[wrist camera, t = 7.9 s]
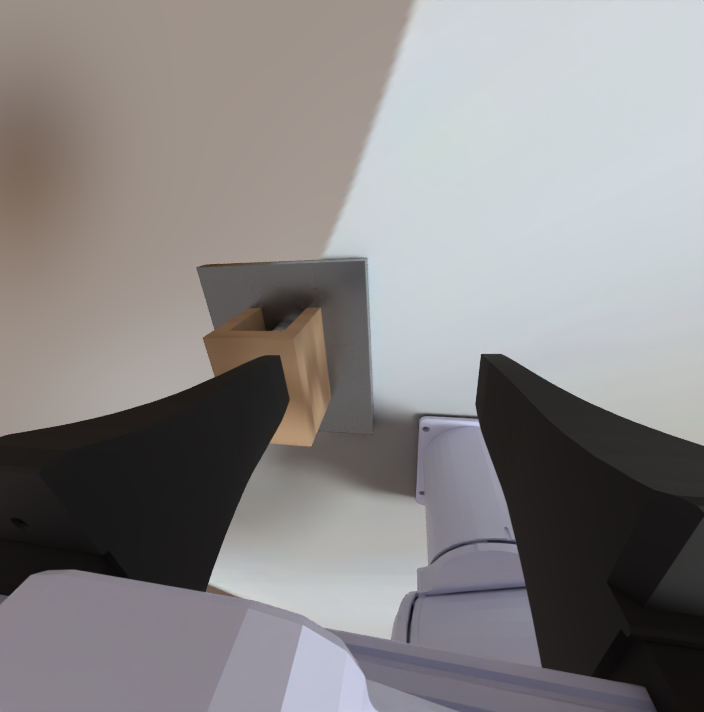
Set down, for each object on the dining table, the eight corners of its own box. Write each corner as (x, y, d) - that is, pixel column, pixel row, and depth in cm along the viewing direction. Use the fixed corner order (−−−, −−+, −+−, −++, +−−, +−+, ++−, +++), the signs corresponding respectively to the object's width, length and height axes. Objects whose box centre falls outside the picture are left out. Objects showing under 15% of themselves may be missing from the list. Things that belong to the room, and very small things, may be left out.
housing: (331, 398, 22) (311, 446, 18) (268, 395, 23) (234, 440, 19) (320, 307, 19) (293, 338, 15) (248, 308, 20) (202, 337, 15)
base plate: (374, 426, 24) (368, 459, 21) (248, 418, 26) (226, 447, 23) (367, 257, 18) (358, 269, 15) (205, 264, 20) (168, 275, 17)
